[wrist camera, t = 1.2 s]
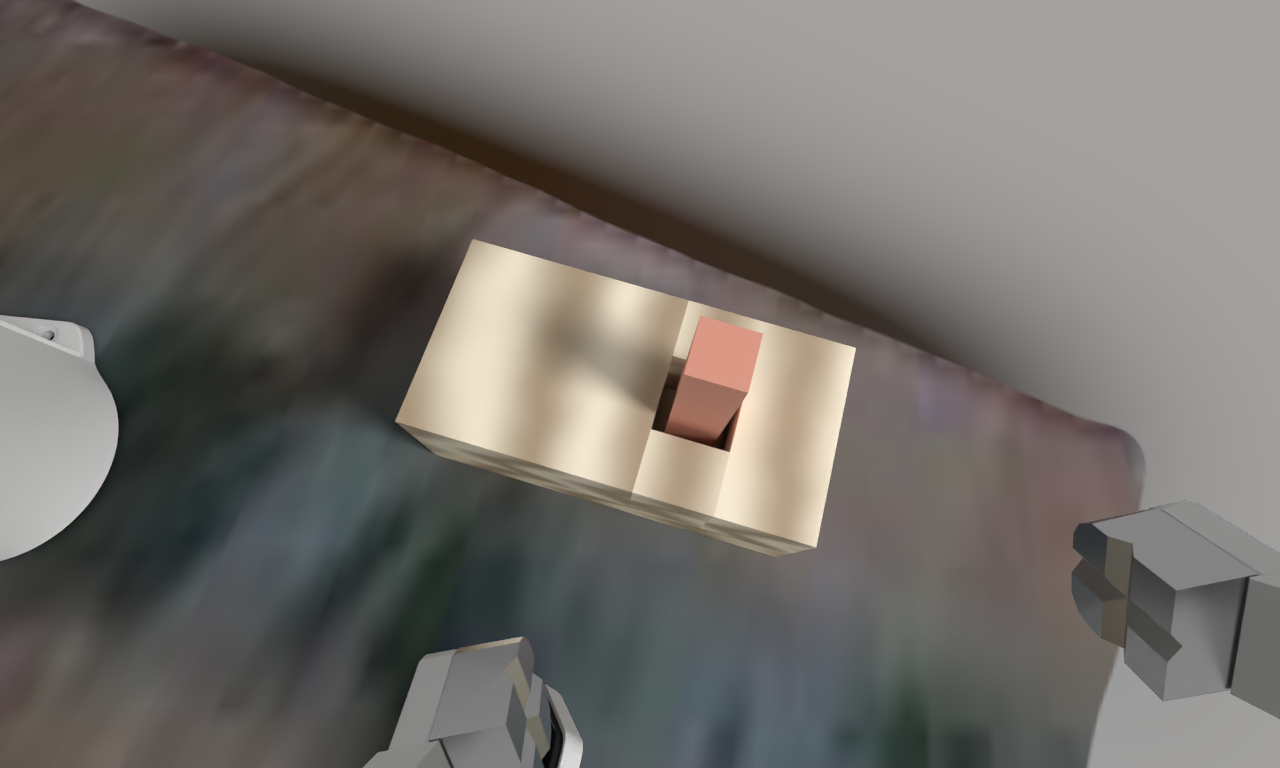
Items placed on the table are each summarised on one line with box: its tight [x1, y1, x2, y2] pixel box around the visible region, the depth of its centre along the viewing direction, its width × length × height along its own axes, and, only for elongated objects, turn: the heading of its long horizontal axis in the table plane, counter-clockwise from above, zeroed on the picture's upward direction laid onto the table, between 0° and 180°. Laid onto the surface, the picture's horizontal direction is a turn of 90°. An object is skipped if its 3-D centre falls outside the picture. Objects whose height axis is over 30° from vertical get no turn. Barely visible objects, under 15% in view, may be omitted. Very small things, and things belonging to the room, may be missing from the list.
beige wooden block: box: [395, 239, 856, 557], centre depth 42 cm, size 24×12×9 cm, turn 74°
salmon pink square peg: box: [664, 316, 763, 447], centre depth 36 cm, size 3×3×14 cm
